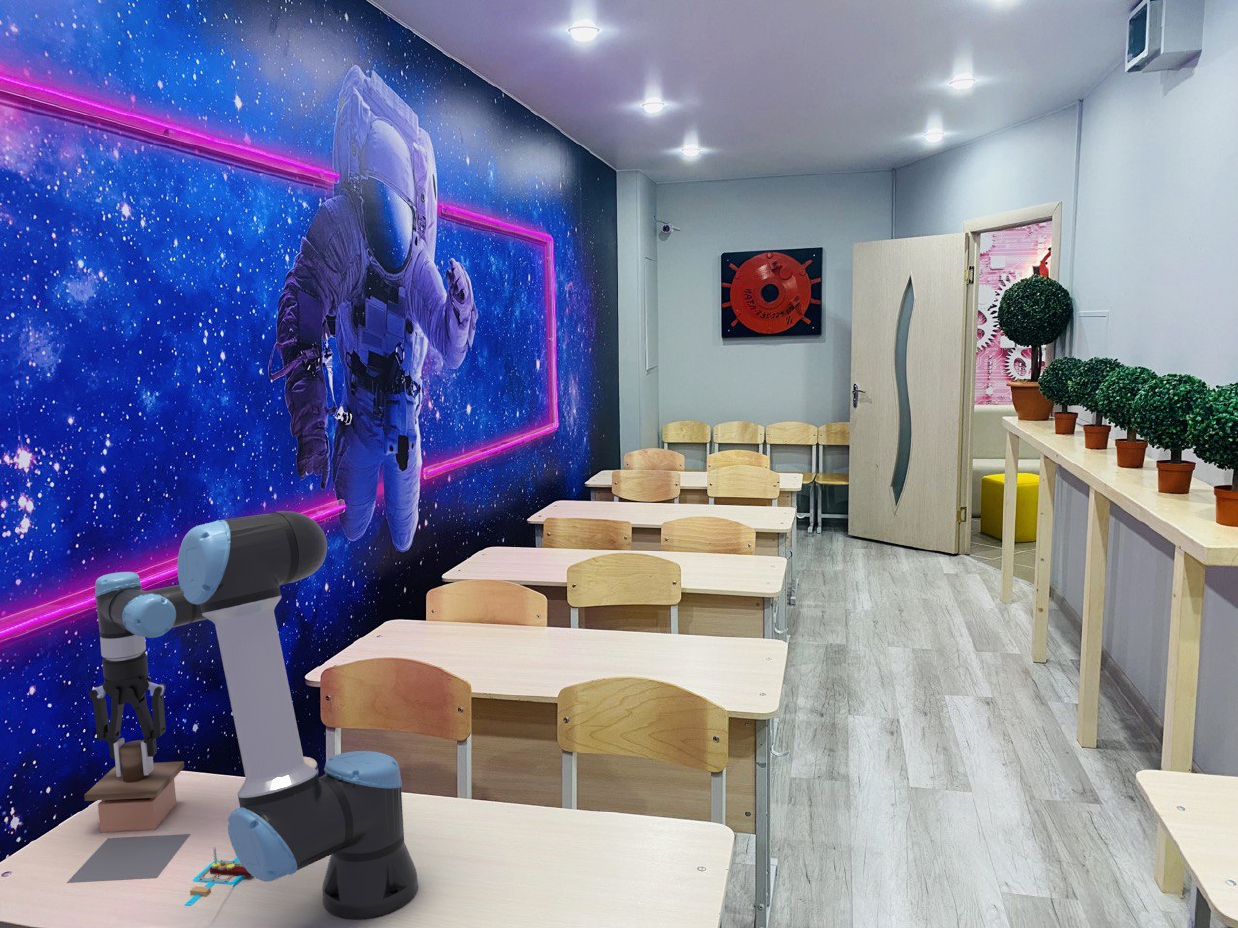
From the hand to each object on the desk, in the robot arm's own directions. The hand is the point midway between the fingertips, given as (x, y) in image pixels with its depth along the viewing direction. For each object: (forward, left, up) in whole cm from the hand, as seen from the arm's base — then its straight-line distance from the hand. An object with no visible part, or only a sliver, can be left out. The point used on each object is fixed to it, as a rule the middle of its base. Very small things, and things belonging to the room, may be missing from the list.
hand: (135, 772), depth 186 cm
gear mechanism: (-22, -24, -10) cm, 34 cm away
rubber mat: (-15, -5, -10) cm, 19 cm away
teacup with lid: (+2, -30, -10) cm, 32 cm away
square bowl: (0, 0, -10) cm, 10 cm away
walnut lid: (0, 0, -2) cm, 2 cm away
